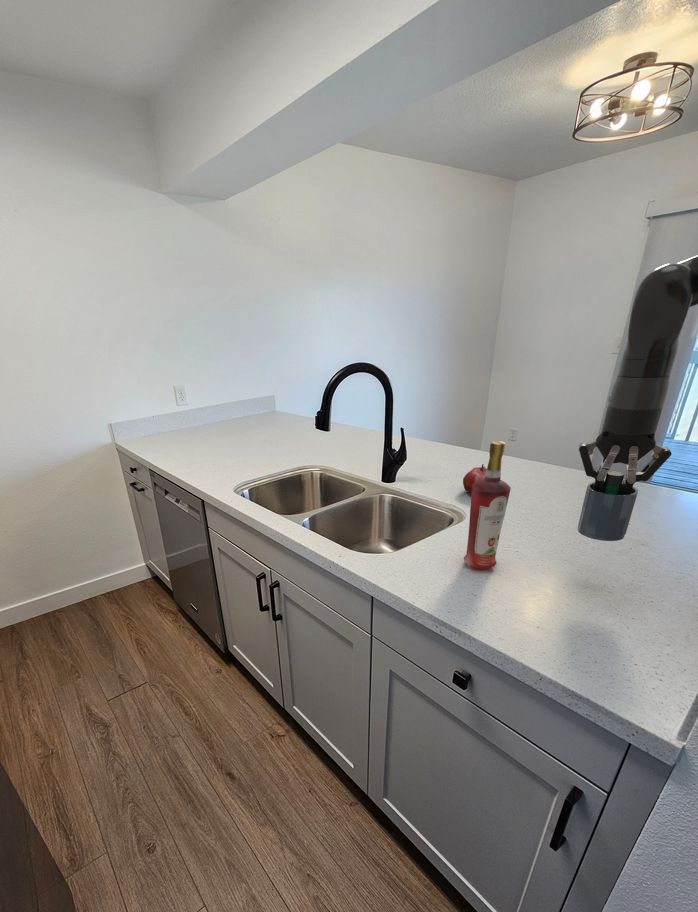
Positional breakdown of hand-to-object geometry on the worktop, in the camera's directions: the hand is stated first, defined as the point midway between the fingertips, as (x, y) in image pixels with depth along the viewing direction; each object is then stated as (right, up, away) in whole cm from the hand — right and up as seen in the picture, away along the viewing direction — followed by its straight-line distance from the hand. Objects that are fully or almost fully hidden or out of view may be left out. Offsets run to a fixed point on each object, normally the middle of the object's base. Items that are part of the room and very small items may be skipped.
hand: (609, 499), depth 80 cm
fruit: (0, +7, +57) cm, 58 cm away
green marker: (0, -5, +3) cm, 6 cm away
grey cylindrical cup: (+1, -6, +3) cm, 7 cm away
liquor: (-17, -14, +18) cm, 28 cm away
